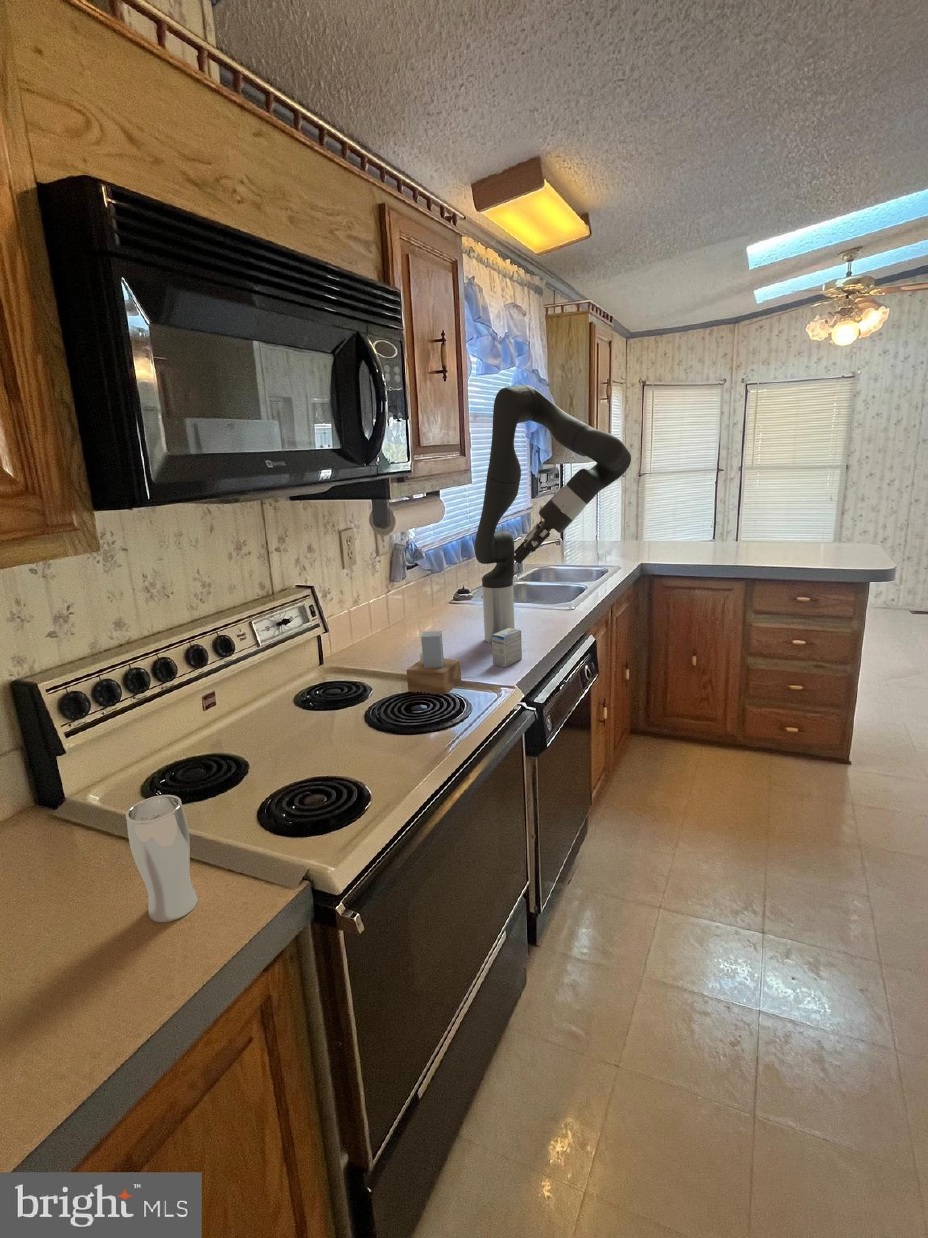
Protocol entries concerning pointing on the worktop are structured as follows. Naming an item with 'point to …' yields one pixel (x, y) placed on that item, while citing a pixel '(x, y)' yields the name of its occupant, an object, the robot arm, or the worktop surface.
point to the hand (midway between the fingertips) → (516, 557)
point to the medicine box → (506, 647)
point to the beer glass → (162, 855)
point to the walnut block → (434, 677)
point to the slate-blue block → (432, 649)
